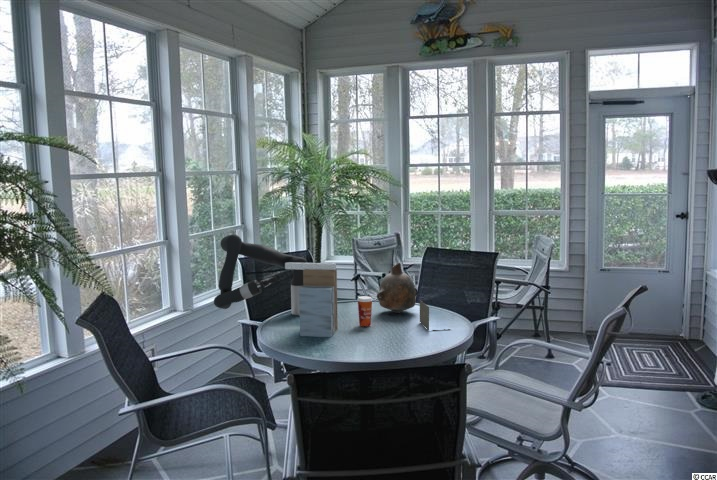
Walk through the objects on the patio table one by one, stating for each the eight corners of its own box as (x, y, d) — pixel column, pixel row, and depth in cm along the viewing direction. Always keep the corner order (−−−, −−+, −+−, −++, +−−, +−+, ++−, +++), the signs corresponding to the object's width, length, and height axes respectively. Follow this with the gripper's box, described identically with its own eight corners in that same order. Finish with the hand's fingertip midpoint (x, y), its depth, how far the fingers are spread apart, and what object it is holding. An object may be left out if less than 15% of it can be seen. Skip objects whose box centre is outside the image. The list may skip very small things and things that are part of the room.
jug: (392, 306, 347) (392, 258, 344) (423, 311, 335) (423, 260, 331) (369, 315, 328) (369, 263, 324) (401, 320, 315) (401, 266, 312)
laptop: (451, 331, 294) (452, 306, 292) (428, 332, 292) (428, 307, 291) (441, 322, 312) (441, 298, 310) (419, 323, 310) (419, 299, 308)
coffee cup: (361, 327, 300) (361, 299, 298) (354, 324, 307) (354, 297, 305) (375, 325, 303) (375, 298, 302) (368, 322, 311) (368, 295, 309)
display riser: (307, 328, 300) (306, 267, 297) (337, 329, 298) (336, 268, 294) (300, 335, 286) (298, 272, 282) (331, 337, 283) (330, 273, 279)
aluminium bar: (287, 268, 297) (287, 262, 297) (336, 269, 292) (335, 263, 292) (285, 269, 293) (285, 263, 293) (334, 270, 289) (334, 264, 289)
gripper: (243, 284, 291) (272, 272, 290) (251, 281, 306) (278, 269, 304) (249, 298, 292) (278, 285, 290) (257, 293, 306) (284, 281, 304)
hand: (278, 277), depth 297 cm, fingers open, 8 cm apart
